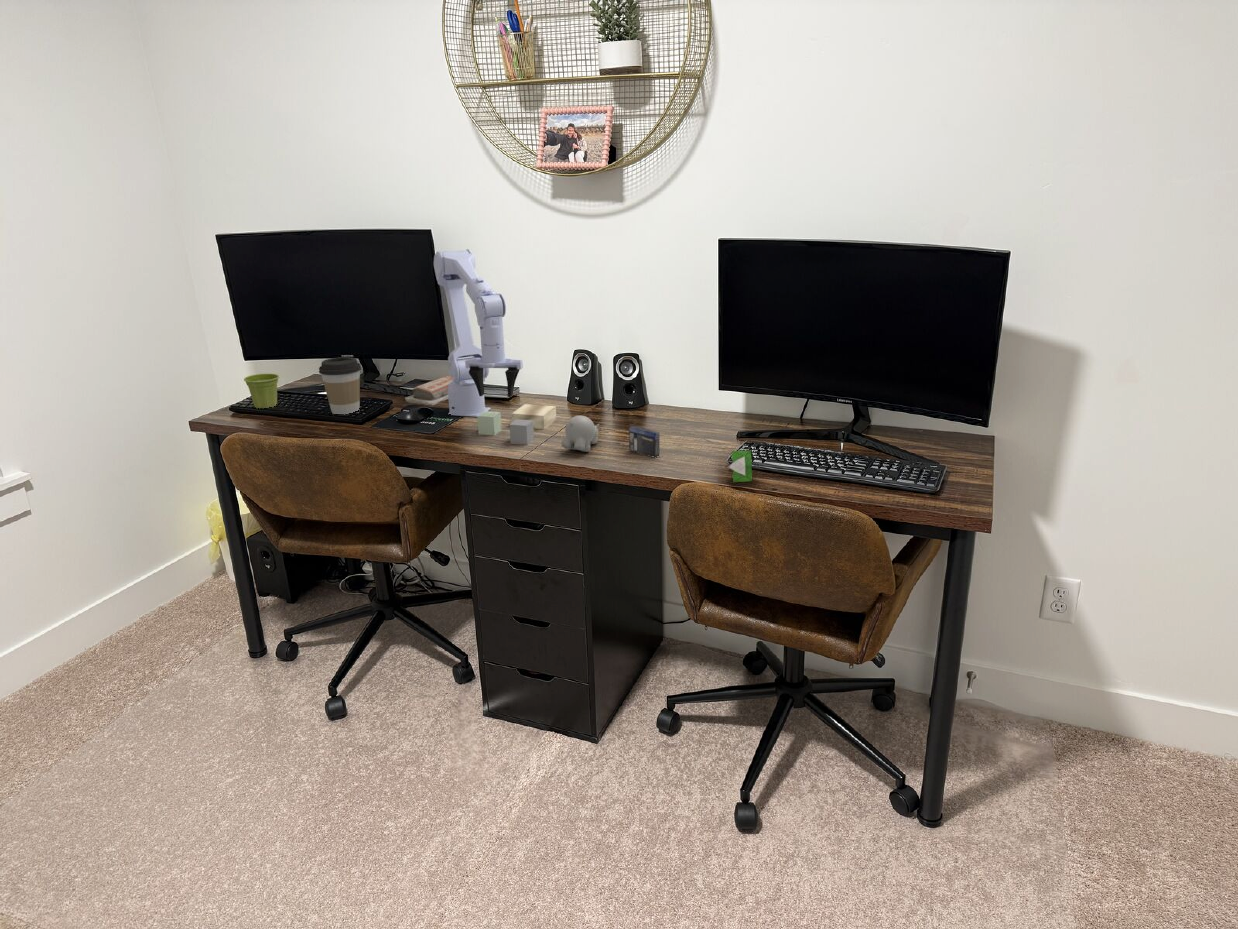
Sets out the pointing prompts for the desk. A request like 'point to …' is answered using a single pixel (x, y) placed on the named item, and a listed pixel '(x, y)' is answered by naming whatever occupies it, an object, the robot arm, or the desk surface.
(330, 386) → the coffee cup
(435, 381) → the packaged product
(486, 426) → the sage cube
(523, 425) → the grey cube
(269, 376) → the plant pot
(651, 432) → the mini dv tape
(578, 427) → the round bodied animal figurine
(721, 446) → the desk surface
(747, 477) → the geometric puzzle
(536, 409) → the birch block
